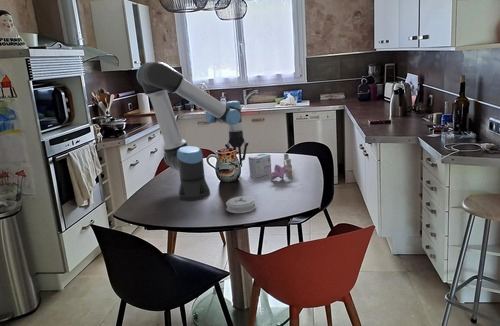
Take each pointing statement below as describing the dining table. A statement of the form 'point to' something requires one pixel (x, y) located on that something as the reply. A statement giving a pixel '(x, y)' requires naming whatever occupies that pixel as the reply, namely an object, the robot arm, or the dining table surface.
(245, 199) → the lid
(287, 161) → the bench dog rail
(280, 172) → the lily
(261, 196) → the dining table surface
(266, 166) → the light bulb box
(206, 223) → the dining table surface
